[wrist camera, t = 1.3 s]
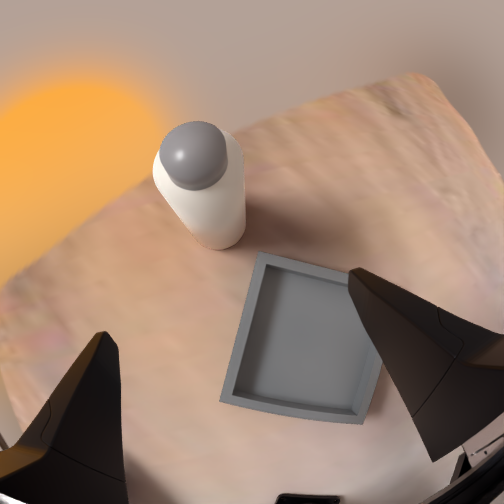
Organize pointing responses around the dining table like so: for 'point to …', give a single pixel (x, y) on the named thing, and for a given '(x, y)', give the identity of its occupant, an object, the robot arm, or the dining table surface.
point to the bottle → (204, 182)
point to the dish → (301, 346)
